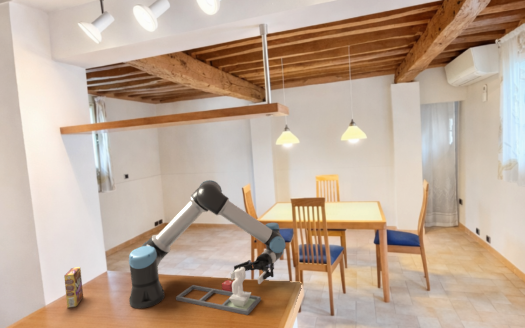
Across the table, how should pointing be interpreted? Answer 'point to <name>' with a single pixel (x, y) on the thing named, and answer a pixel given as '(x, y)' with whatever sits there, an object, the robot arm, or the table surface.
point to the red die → (227, 285)
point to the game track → (225, 306)
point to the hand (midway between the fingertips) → (244, 278)
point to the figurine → (239, 289)
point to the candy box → (73, 287)
